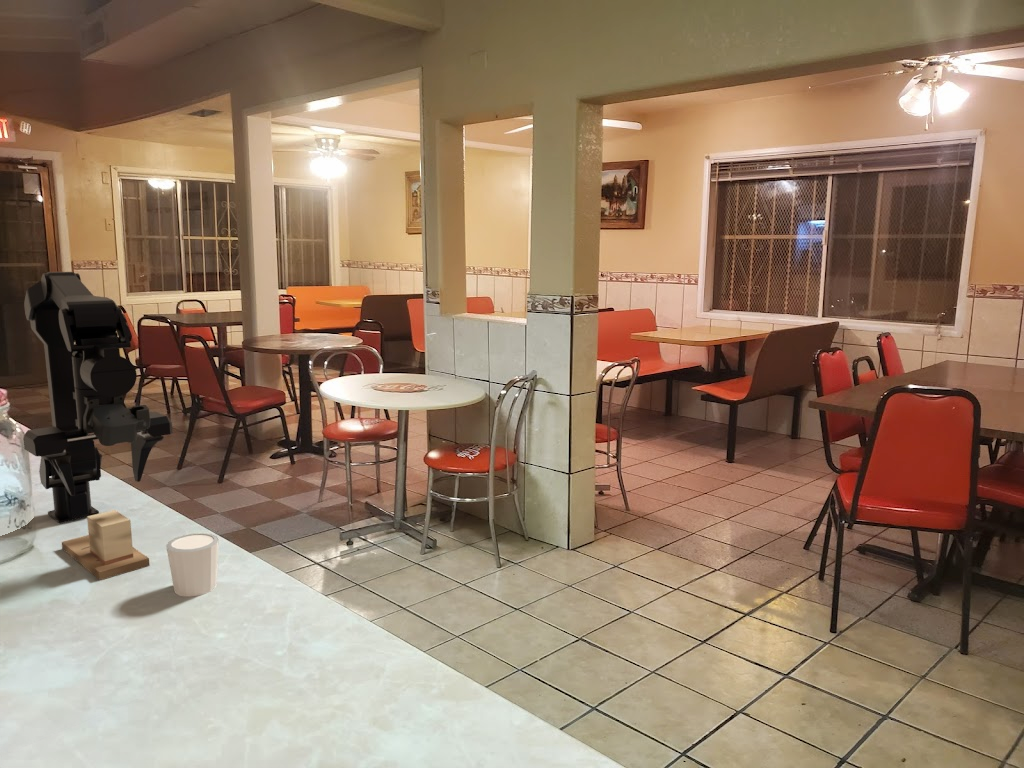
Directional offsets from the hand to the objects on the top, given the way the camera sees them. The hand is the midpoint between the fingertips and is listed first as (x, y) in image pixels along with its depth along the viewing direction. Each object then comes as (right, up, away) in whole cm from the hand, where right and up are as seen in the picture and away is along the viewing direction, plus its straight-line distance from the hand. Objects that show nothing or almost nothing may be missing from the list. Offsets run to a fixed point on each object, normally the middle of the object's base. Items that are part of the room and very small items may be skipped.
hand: (105, 487), depth 112 cm
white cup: (+16, -14, -5) cm, 22 cm away
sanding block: (0, -11, +2) cm, 11 cm away
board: (-2, -11, +4) cm, 12 cm away
